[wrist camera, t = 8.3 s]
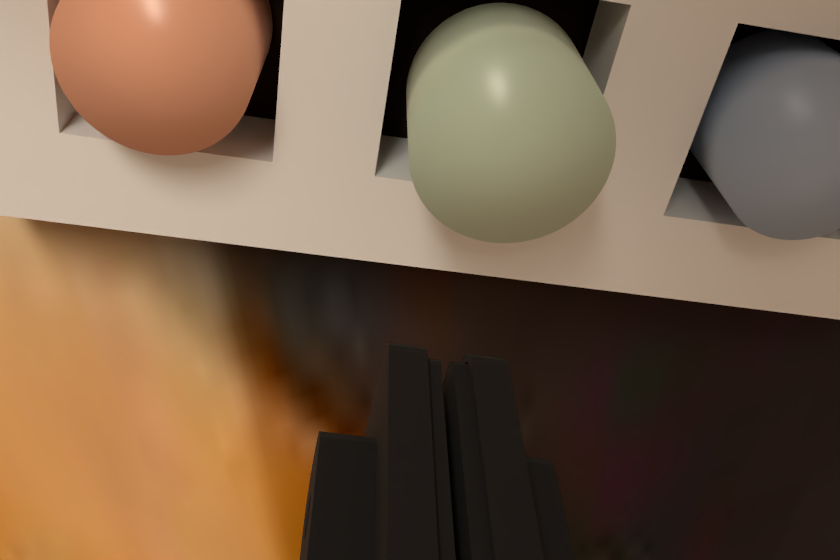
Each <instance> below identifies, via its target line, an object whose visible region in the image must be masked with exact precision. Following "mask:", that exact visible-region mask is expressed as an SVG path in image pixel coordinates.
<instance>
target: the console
mask: <svg viewBox="0 0 840 560" xmlns="http://www.w3.org/2000/svg"><path fill="white" fill-rule="evenodd" d="M59 1H60V0H0V215H1V216H9V217H17V218H25V219H33V220H41V221H50V222H58V223H66V224H74V225H82V226H90V227H98V228H106V229H114V230H122V231H130V232H138V233H146V234H154V235H162V236H170V237H178V238H186V239H195V240H203V241H211V242H219V243H227V244H235V245H243V246H251V247H259V248H267V249H275V250H283V251H291V252H299V253H307V254H315V255H323V256H332V257H340V258H348V259H356V260H364V261H372V262H380V263H388V264H396V265H404V266H412V267H420V268H428V269H436V270H444V271H452V272H460V273H468V274H477V275H485V276H493V277H501V278H509V279H517V280H525V281H533V282H541V283H549V284H557V285H565V286H573V287H581V288H589V289H597V290H605V291H614V292H622V293H630V294H638V295H646V296H654V297H662V298H670V299H678V300H686V301H694V302H702V303H710V304H718V305H726V306H734V307H742V308H750V309H759V310H767V311H775V312H783V313H791V314H799V315H807V316H815V317H823V318H831V319H839V320H840V229H839V230H837V231H834V232H831V233H829V234H826V235H823V236H819V237H815V238H810V239H803V240H782V239H775V238H770V237H767V236H764V235H761V234H759V233H757V232H755V231H753V230H752V229H750V228H749V227H747V226H746V225H745V224H744V223H743V222H742V221H741V220H740V219H739V218H738V217H737V215H736V214H735V213H734V211H733V210H732V208H731V207H730V206H729V204H728V203H727V201H726V200H725V199H724V197H723V196H722V194H721V193H720V191H719V190H718V189H717V187H716V186H715V184H714V183H713V182H708V181H701V180H694V179H687V178H680V177H679V174H680V172H681V169H682V167H683V164H684V162H685V159H686V156H687V154H688V151H689V149H690V146H691V144H692V141H693V138H694V136H695V133H696V131H697V128H698V126H699V123H700V120H701V118H702V115H703V113H704V110H705V107H706V105H707V102H708V100H709V97H710V95H711V92H712V89H713V87H714V84H715V82H716V79H717V77H718V74H719V71H720V69H721V66H722V64H723V61H724V58H725V56H726V53H727V51H728V48H729V46H730V43H731V40H732V38H733V35H734V33H735V30H736V28H737V25H738V23H741V24H747V25H753V26H759V27H765V28H771V29H777V30H783V31H789V32H795V33H801V34H807V35H813V36H819V37H825V38H831V39H837V40H840V0H599V3H598V7H597V10H596V14H595V17H594V21H593V24H592V28H591V31H590V35H589V38H588V42H587V45H586V48H585V52H584V55H583V61H584V63H585V65H586V66H587V68H588V70H589V71H590V73H591V75H592V77H593V78H594V80H595V82H596V84H597V85H598V87H599V89H600V91H601V92H602V94H603V96H604V98H605V100H606V102H607V103H608V105H609V107H610V110H611V113H612V116H613V119H614V124H615V130H616V151H615V158H614V162H613V166H612V169H611V172H610V174H609V177H608V179H607V181H606V183H605V185H604V187H603V189H602V190H601V192H600V193H599V195H598V196H597V197H596V199H595V200H594V202H593V203H592V204H591V205H590V206H589V207H588V208H587V209H586V210H585V211H584V212H583V213H582V214H581V215H580V216H578V217H577V218H576V219H575V220H573V221H572V222H570V223H569V224H567V225H566V226H564V227H563V228H561V229H559V230H557V231H555V232H553V233H551V234H548V235H546V236H543V237H540V238H537V239H533V240H529V241H524V242H517V243H490V242H485V241H479V240H476V239H472V238H469V237H466V236H464V235H462V234H459V233H457V232H455V231H453V230H452V229H450V228H448V227H447V226H445V225H444V224H443V223H441V222H440V221H439V220H438V219H436V218H435V217H434V216H433V215H432V213H431V212H430V211H429V210H428V209H427V208H426V206H425V205H424V204H423V202H422V201H421V199H420V198H419V196H418V194H417V192H416V190H415V187H414V184H413V182H412V179H411V174H410V169H409V159H408V139H407V138H400V137H393V136H386V135H381V131H382V124H383V118H384V111H385V104H386V98H387V91H388V85H389V78H390V71H391V65H392V58H393V51H394V45H395V38H396V31H397V25H398V18H399V12H400V5H401V0H284V8H283V23H282V37H281V51H280V65H279V79H278V94H277V108H276V120H274V119H267V118H260V117H253V116H246V115H243V116H242V118H241V119H240V121H239V122H238V124H237V125H236V126H235V127H234V128H233V130H232V131H231V132H230V133H229V134H227V135H226V136H225V137H224V138H223V139H221V140H220V141H218V142H217V143H215V144H214V145H212V146H209V147H207V148H205V149H203V150H200V151H196V152H193V153H189V154H183V155H168V156H167V155H154V154H149V153H144V152H140V151H137V150H134V149H130V148H128V147H126V146H123V145H121V144H119V143H117V142H115V141H113V140H111V139H110V138H108V137H106V136H105V135H103V134H102V133H100V132H99V131H98V130H96V129H95V128H94V127H92V126H91V125H90V124H89V123H88V122H87V121H86V120H85V119H84V118H83V117H82V116H81V115H80V114H79V113H78V112H77V111H76V110H75V108H74V107H73V106H72V104H71V103H70V102H69V100H68V99H67V97H66V95H65V94H64V92H63V90H62V89H61V87H60V84H59V82H58V80H57V77H56V75H55V72H54V68H53V65H52V61H51V55H50V44H49V35H50V27H51V22H52V18H53V15H54V12H55V9H56V7H57V5H58V3H59Z"/></svg>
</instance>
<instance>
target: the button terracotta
mask: <svg viewBox="0 0 840 560" xmlns="http://www.w3.org/2000/svg"><path fill="white" fill-rule="evenodd" d="M272 32H273V19H272V12H271V7H270V3H269V0H60V1H59V3H58V5H57V7H56V9H55V12H54V15H53V18H52V22H51V27H50V35H49V44H50V55H51V61H52V65H53V68H54V72H55V75H56V77H57V80H58V82H59V84H60V87H61V89H62V90H63V92H64V94H65V95H66V97H67V99H68V100H69V102H70V103H71V104H72V106H73V107H74V108H75V110H76V111H77V112H78V113H79V114H80V115H81V116H82V117H83V118H84V119H85V120H86V121H87V122H88V123H89V124H90V125H91V126H92V127H94V128H95V129H96V130H98V131H99V132H100V133H102V134H103V135H105V136H106V137H108V138H110V139H111V140H113V141H115V142H117V143H119V144H121V145H123V146H126V147H128V148H130V149H134V150H137V151H140V152H144V153H149V154H154V155H167V156H168V155H183V154H189V153H193V152H196V151H200V150H203V149H205V148H207V147H209V146H212V145H214V144H215V143H217V142H218V141H220V140H221V139H223V138H224V137H225V136H226V135H227V134H229V133H230V132H231V131H232V130H233V128H234V127H235V126H236V125H237V124H238V122H239V121H240V119H241V118H242V116H243V115H244V113H245V110H246V108H247V106H248V104H249V101H250V98H251V96H252V93H253V91H254V88H255V85H256V83H257V80H258V78H259V75H260V73H261V70H262V67H263V65H264V62H265V60H266V57H267V54H268V52H269V48H270V45H271V40H272Z"/></svg>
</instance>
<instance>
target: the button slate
mask: <svg viewBox="0 0 840 560" xmlns="http://www.w3.org/2000/svg"><path fill="white" fill-rule="evenodd" d="M690 150H691V152H692V153H693V155H694V156H695V158H696V159H697V160H698V162H699V163H700V165H701V166H702V167H703V169H704V170H705V172H706V173H707V175H708V176H709V177H710V179H711V180H712V182H713V183H714V184H715V186H716V187H717V189H718V190H719V191H720V193H721V194H722V196H723V197H724V199H725V200H726V201H727V203H728V204H729V206H730V207H731V208H732V210H733V211H734V213H735V214H736V215H737V217H738V218H739V219H740V220H741V221H742V222H743V223H744V224H745V225H746V226H747V227H749V228H750V229H752V230H753V231H755V232H757V233H759V234H761V235H764V236H767V237H770V238H775V239H782V240H803V239H810V238H815V237H819V236H823V235H826V234H829V233H831V232H834V231H837V230H839V229H840V54H839V53H838V52H837V51H835V50H834V49H833V48H831V47H830V46H828V45H827V44H826V43H824V42H823V41H821V40H820V39H818V38H817V37H815V36H813V35H807V34H801V33H795V32H789V31H783V30H777V29H774V30H768V31H762V32H759V33H755V34H752V35H750V36H747V37H745V38H743V39H741V40H739V41H737V42H735V43H733V44H731V45H730V46H729V48H728V51H727V53H726V56H725V58H724V61H723V64H722V66H721V69H720V71H719V74H718V77H717V79H716V82H715V84H714V87H713V89H712V92H711V95H710V97H709V100H708V102H707V105H706V107H705V110H704V113H703V115H702V118H701V120H700V123H699V126H698V128H697V131H696V133H695V136H694V138H693V141H692V144H691V146H690Z"/></svg>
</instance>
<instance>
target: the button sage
mask: <svg viewBox="0 0 840 560" xmlns="http://www.w3.org/2000/svg"><path fill="white" fill-rule="evenodd" d="M406 105H407V132H408V159H409V169H410V174H411V179H412V182H413V184H414V187H415V190H416V192H417V194H418V196H419V198H420V199H421V201H422V202H423V204H424V205H425V206H426V208H427V209H428V210H429V211H430V212H431V213H432V215H433V216H434V217H435V218H436V219H438V220H439V221H440V222H441V223H443V224H444V225H445V226H447V227H448V228H450V229H452V230H453V231H455V232H457V233H459V234H462V235H464V236H466V237H469V238H472V239H476V240H479V241H485V242H490V243H517V242H524V241H529V240H533V239H537V238H540V237H543V236H546V235H548V234H551V233H553V232H555V231H557V230H559V229H561V228H563V227H564V226H566V225H567V224H569V223H570V222H572V221H573V220H575V219H576V218H577V217H578V216H580V215H581V214H582V213H583V212H584V211H585V210H586V209H587V208H588V207H589V206H590V205H591V204H592V203H593V202H594V200H595V199H596V197H597V196H598V195H599V193H600V192H601V190H602V189H603V187H604V185H605V183H606V181H607V179H608V177H609V174H610V172H611V169H612V166H613V162H614V158H615V151H616V130H615V124H614V119H613V116H612V113H611V110H610V107H609V105H608V103H607V102H606V100H605V98H604V96H603V94H602V92H601V91H600V89H599V87H598V85H597V84H596V82H595V80H594V78H593V77H592V75H591V73H590V71H589V70H588V68H587V66H586V65H585V63H584V61H583V59H582V58H581V56H580V54H579V52H578V51H577V49H576V47H575V45H574V44H573V42H572V40H571V39H570V38H569V36H568V35H567V33H566V32H565V31H564V30H563V29H562V28H561V27H560V26H559V25H558V24H557V23H556V22H555V21H553V20H552V19H551V18H549V17H548V16H546V15H545V14H543V13H541V12H539V11H537V10H535V9H532V8H530V7H527V6H523V5H519V4H513V3H488V4H482V5H477V6H474V7H471V8H468V9H465V10H463V11H461V12H458V13H456V14H454V15H453V16H451V17H450V18H448V19H446V20H445V21H443V22H442V23H441V24H440V25H439V26H437V27H436V28H435V29H434V30H433V31H432V32H431V33H430V34H429V35H428V36H427V37H426V39H425V40H424V42H423V43H422V44H421V46H420V47H419V49H418V51H417V53H416V55H415V56H414V59H413V61H412V64H411V66H410V69H409V74H408V78H407V86H406Z"/></svg>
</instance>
